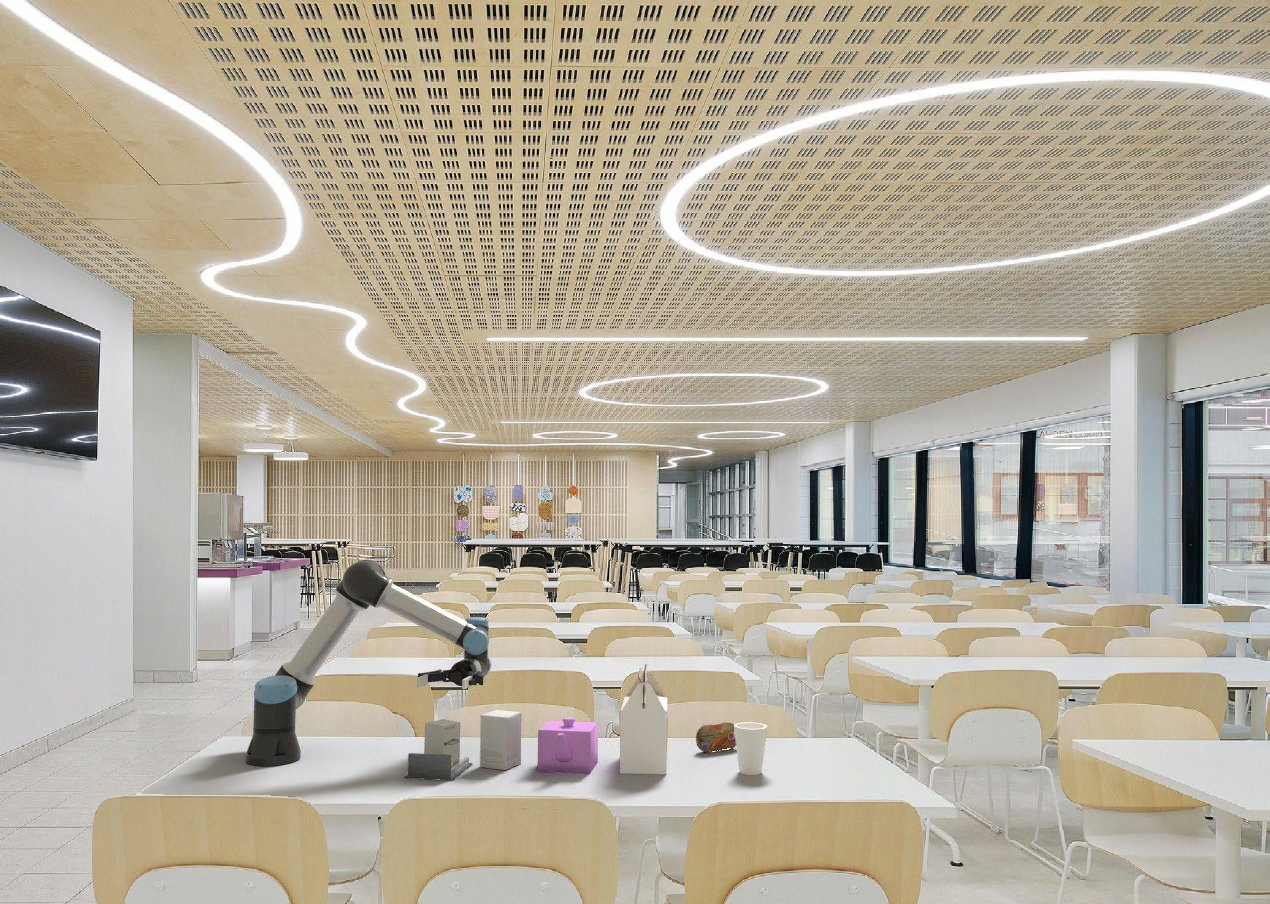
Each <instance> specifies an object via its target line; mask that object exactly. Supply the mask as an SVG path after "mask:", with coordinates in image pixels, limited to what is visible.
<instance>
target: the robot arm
mask: <svg viewBox="0 0 1270 904" xmlns="http://www.w3.org/2000/svg"><path fill="white" fill-rule="evenodd" d="M334 591H335V598H334V599H333V601H332V602H331V603H330V605H329V607H328V608H327V609H326V611H325V612H324V614H323V615H322V616H321V618H320V619H319V620H318V622H317V623H316V624H315V626H314V627H313V629H312V630H311V632H310V633H309V635H308V636H307V637H306V639H304V642H302V644H301V646H300V648H299V649H298V651H296V653H295V655H294V656H293V658H292V659H291V660H290V661H287V662H284V663H282V665H280V667H279V669H278V670H277V671H276V673H275V674H274V675H272V676H267V677H263V678H260V679H259V680H258V681H257V682H256V683H255V685H254V689H253V697H254V698H253V699H254V700H253V701H254V702H253V727H252V730H253V731H252V736H251V740H250V742H249V745H248V748H247V751H246V754H245V763H247V764H249V765H252V766H258V767H259V766H262V767H266V766H267V767H269V766H271V767H273V766H280V765H287V764H291V763H294V762H297V761H299V760H300V759H301V758H302V757H301V754H302V750H301V748H300V744H299V740H298V736H297V734H296V733H297V732H296V715H297V712H296V711H297V710H298V709H299V708H300V707H301V706H302V705H303V704H304V703H305V701H306V697H307V696H308V695H309V693H310V692H311V690H312V689H313V687H314V686H315V684H316V678H315V677H316V675H317V673H318V672H319V671H320V669H321V668H322V666H323V664H324V663H325V662H326V660H327V659H328V657H329V656H330V654H331V653H332V652H333V650H334V649H335V647H336V646H337V644H338V643H339V642H340V641H341V639H342V637H343V636H344V634H346V631H347V630H348V629H349V628H350V626H351V625H352V623H353V621H354V620H355V618H357V616H358V614H359V613H360V612H361V611H367V610H368V609H369V607H370V606H371V607H373V608H376V609H378V608H383V609H385V610H387V611H389V612H390V613H393V614H395V615H397V616H400V617H401V618H403V619H405V620H407V621H408V622H411V623H412V624H414V625H416V626H419V627H421V628H422V629H425V630H426V631H428V632H430V633H432V634H434V635H436V636H438V637H440V638H443V639H444V640H446V641H449V642H450V643H452V644H455V645H456V646H458V647H460V648H462V649H463V659H462V660H460V661H456V662H455V663H454V664H453V665H452V666H451V668H450V669H443V670H442V669H437V670H433V671H424V672H418V673H417V678H416V688H421V687H424V686H426V685H428V683H435V682H436V683H438V682H444V683H454V684H455V685H456V686H459V687H461V690H467V689H468V688H470V687H472V686H477V684H478V685H479V686H483V685H484V678H485V677H486V676H487V675H488V674H489V672H490V671H491V669H492V661H491V659H490V657H489V650H488V649H489V643H490V638H489V628H490V626H489V620H488V618H486V617H480V616H477V617H476V616H475V617H467V618H466V619H462V618H460V617H458V616H457V615H454V614H452V613H450V612H448V611H446V610H444V609H442V608H440V607H439V606H436V604H433V603H430V602H429V601H427V600H426V599H423V598H422V597H419V596H418V595H415V594H413V593H411V592H410V591H407V590H406V589H404V588H402V587H399V586H397V585H396V584H394V581H393V579H391V578H390V577H388V576H386V572H385V570H384V568H383V567H382V566H381V564H379V563H378V562H376V561H374V560H371V559H362V560H358V561H356V562H354V563H352V564H351V565H349V567H347V569H345V571H344V572H343V576H342V579H341V581H340V582H339V583H338V585H337V587H336V588H335V589H334Z"/></svg>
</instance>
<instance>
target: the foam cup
mask: <svg viewBox="0 0 1270 904" xmlns="http://www.w3.org/2000/svg"><path fill="white" fill-rule="evenodd" d="M734 734H735V740H736V746H735V748H736V754H737V763H738V770H739V773H740V774H742V775H747V776H758V775H761V774H762V771H763V766H764V765H763V764H764V756H765V750H766V740H767V736H768V725H766V724H764V723H760V722H752V721H751V722H749V721H746V722H745V721H744V722H738V723H735V724H734Z"/></svg>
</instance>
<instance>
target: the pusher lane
mask: <svg viewBox="0 0 1270 904" xmlns="http://www.w3.org/2000/svg"><path fill="white" fill-rule="evenodd" d="M407 755H408V756H407V773H406V774H404V776H403V778H404V779H412V778H424V779H423V780H432V779H440V780H439V781H451V780H453V781H455V780H456V779H457V778H458V777H460V776H461V775H462V774H463V773H465V772H466V771H467V770H469V768H470V767H472V766H473V763H472V762H470V757H469V756H465V757H464V758H459V763H457V764H456V765H455V766H453V767H452V768H451V755H442V754H424V753H418V752H416V753H415V752H409V753H408V754H407ZM465 770H466V771H465ZM455 778H456V779H455Z"/></svg>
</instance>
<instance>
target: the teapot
mask: <svg viewBox="0 0 1270 904" xmlns="http://www.w3.org/2000/svg"><path fill="white" fill-rule="evenodd" d="M598 752H599V722H595V721H594V722H593V721H576V718H575V717H571V716H568V717H563V718H562V720H547V721H546V722H545V723H543V725H542V726H541V727H540V728H539V729H538V730H537V772H538V773H539V772H540V773H541V772H542V773H564V774H585V775H587V774H588V775H590V774H591V773H592V772H593V770H594V769H595V768H596V765H597V764H598V763H599V758H598V757H599V755H598V754H599V753H598Z"/></svg>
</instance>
